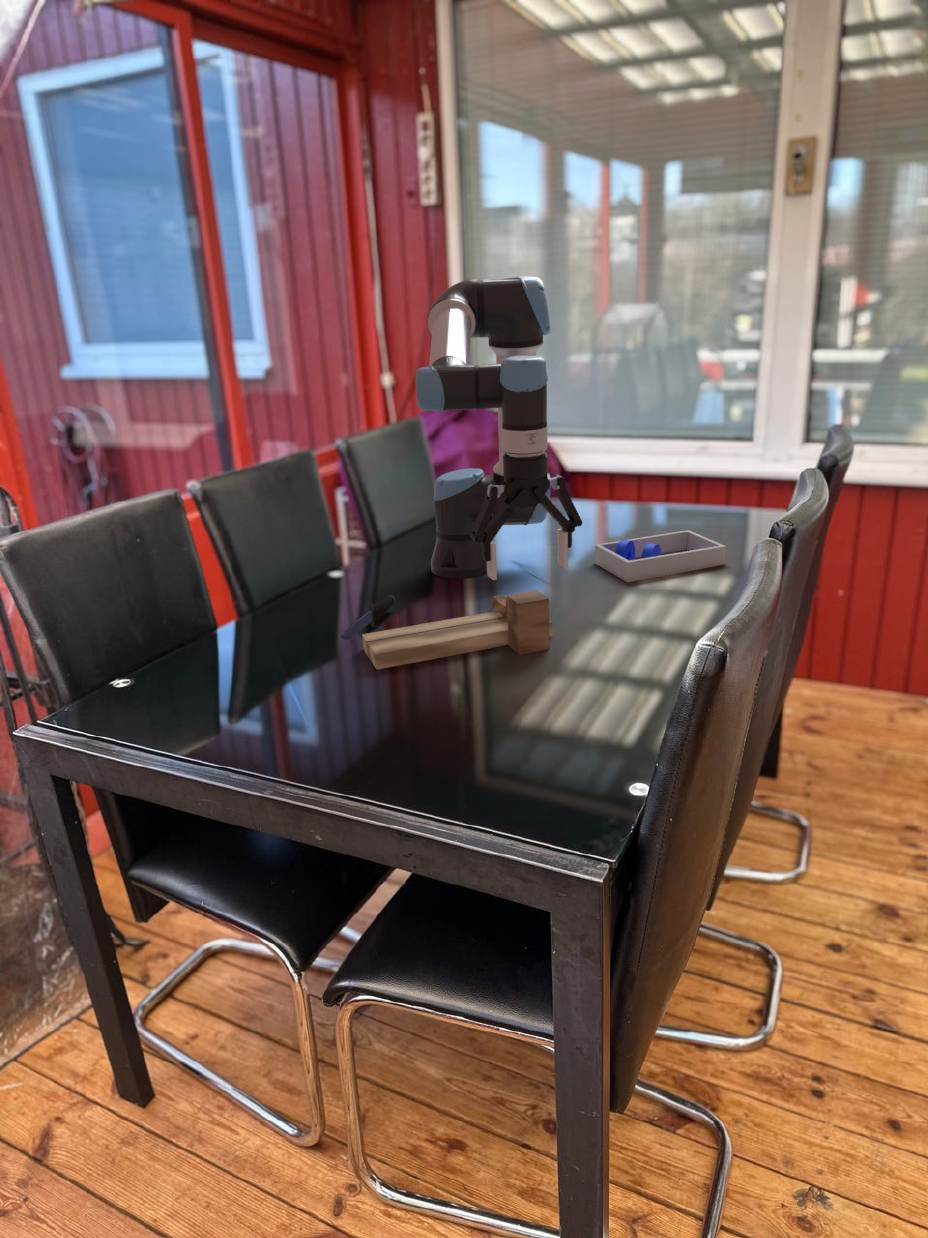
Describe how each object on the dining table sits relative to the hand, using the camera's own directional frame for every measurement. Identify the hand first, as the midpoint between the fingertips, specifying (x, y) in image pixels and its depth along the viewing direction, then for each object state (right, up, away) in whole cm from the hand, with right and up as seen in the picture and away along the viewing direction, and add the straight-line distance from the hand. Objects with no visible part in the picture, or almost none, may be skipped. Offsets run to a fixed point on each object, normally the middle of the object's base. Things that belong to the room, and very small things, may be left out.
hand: (527, 571), depth 157 cm
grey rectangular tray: (+33, +4, +46) cm, 57 cm away
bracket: (+31, +2, +49) cm, 58 cm away
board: (-12, -13, +9) cm, 20 cm away
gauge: (-1, -12, +11) cm, 16 cm away
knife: (-30, -11, +16) cm, 36 cm away
